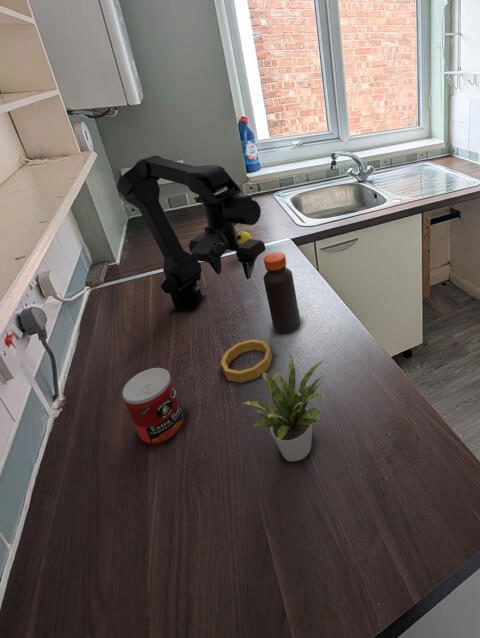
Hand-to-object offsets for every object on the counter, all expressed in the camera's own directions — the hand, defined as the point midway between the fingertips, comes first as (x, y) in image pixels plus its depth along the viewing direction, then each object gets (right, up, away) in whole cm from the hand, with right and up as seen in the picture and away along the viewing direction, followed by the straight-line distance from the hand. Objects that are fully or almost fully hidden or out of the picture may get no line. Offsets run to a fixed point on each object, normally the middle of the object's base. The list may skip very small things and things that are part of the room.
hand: (233, 276), depth 101 cm
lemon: (-11, +5, +37) cm, 39 cm away
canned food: (-4, -25, -24) cm, 35 cm away
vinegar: (+13, -13, +1) cm, 19 cm away
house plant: (+24, -25, -30) cm, 46 cm away
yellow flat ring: (+7, -18, -11) cm, 22 cm away
